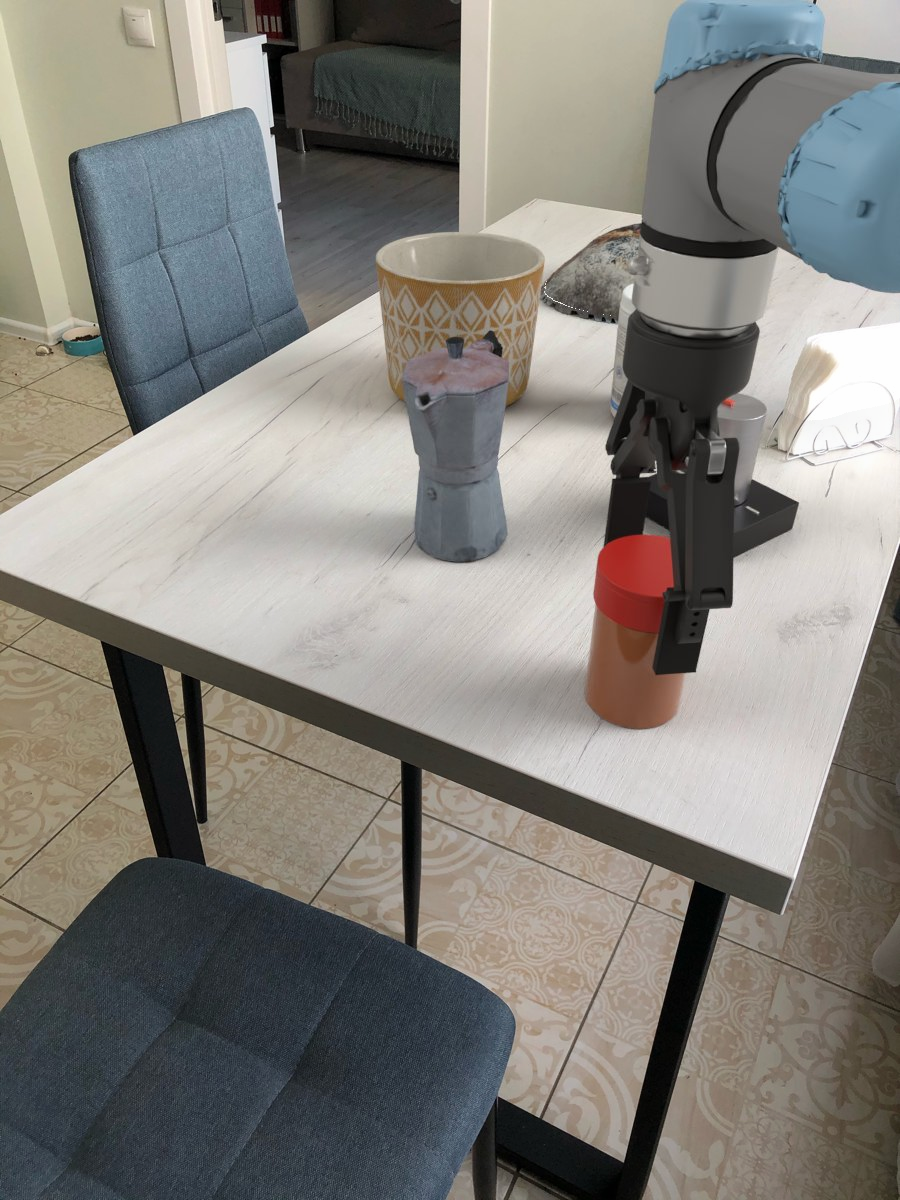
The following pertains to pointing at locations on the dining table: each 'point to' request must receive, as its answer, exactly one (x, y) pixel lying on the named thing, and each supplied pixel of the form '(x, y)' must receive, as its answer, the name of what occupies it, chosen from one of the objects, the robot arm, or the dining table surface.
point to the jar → (628, 677)
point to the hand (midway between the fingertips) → (645, 607)
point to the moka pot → (458, 447)
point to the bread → (595, 276)
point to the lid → (634, 580)
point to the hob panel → (739, 514)
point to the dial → (743, 436)
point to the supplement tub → (621, 349)
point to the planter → (459, 298)
